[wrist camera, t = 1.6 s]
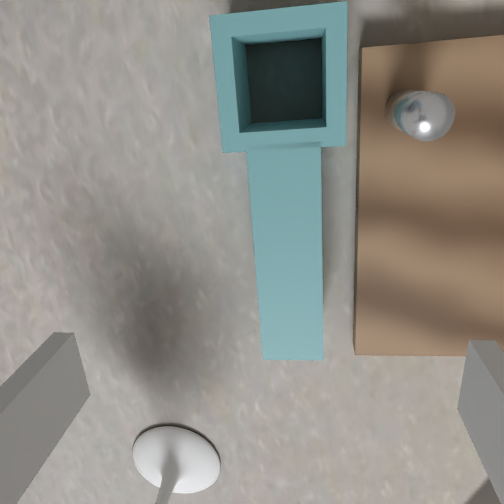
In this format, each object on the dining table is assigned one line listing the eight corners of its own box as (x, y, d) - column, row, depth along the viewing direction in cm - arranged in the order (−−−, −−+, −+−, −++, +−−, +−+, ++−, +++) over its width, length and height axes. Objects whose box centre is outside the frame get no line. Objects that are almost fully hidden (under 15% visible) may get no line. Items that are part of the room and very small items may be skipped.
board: (358, 49, 25) (362, 47, 23) (659, 22, 23) (682, 18, 21) (353, 343, 33) (355, 355, 31) (575, 345, 30) (588, 357, 29)
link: (228, 28, 25) (209, 15, 20) (338, 17, 24) (347, 0, 19) (253, 316, 33) (243, 359, 28) (337, 316, 32) (343, 360, 27)
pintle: (381, 90, 25) (406, 94, 19) (418, 87, 25) (457, 90, 19) (379, 127, 26) (404, 142, 20) (416, 125, 26) (452, 140, 20)
